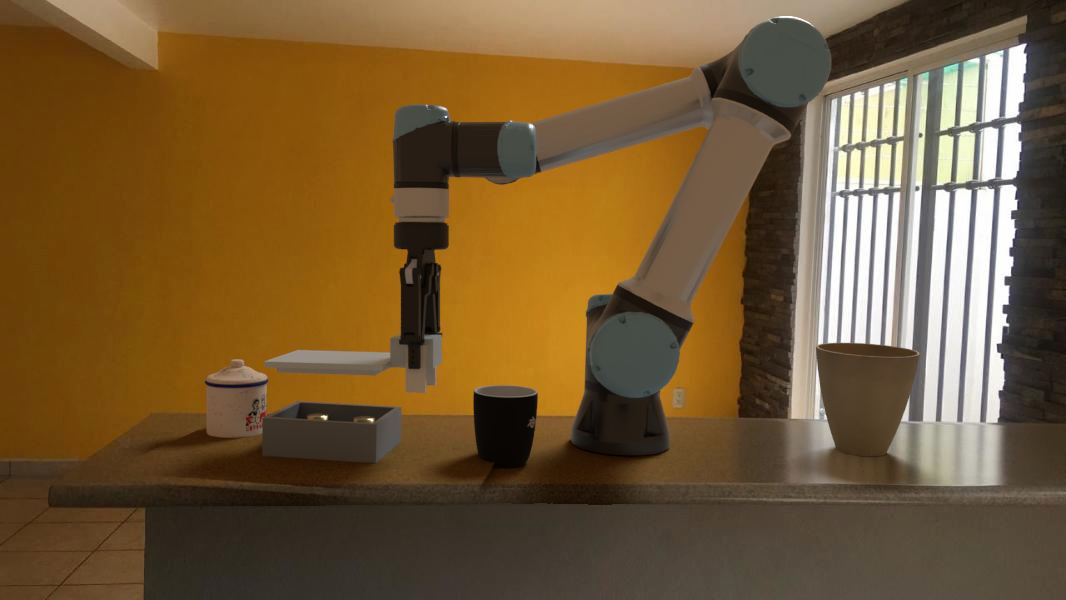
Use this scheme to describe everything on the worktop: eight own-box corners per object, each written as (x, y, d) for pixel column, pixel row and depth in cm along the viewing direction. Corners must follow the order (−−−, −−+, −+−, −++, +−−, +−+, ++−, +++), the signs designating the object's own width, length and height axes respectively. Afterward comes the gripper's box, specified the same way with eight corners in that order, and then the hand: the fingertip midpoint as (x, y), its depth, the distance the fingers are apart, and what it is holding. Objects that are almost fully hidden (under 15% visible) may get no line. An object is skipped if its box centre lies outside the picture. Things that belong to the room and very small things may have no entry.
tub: (400, 447, 128) (401, 407, 127) (375, 468, 116) (376, 424, 116) (297, 440, 130) (297, 401, 129) (262, 461, 118) (262, 417, 118)
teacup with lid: (257, 444, 127) (257, 365, 126) (195, 442, 127) (195, 363, 126) (281, 425, 139) (281, 353, 138) (224, 424, 139) (224, 352, 138)
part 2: (377, 443, 126) (377, 416, 126) (370, 448, 123) (371, 421, 123) (357, 442, 127) (357, 415, 126) (350, 447, 124) (350, 419, 123)
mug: (535, 472, 117) (537, 398, 116) (468, 469, 117) (470, 395, 116) (536, 449, 129) (538, 382, 128) (476, 447, 129) (478, 380, 128)
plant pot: (795, 438, 141) (800, 341, 140) (882, 439, 142) (889, 343, 141) (835, 463, 126) (841, 355, 125) (932, 464, 127) (939, 356, 126)
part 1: (330, 440, 127) (331, 413, 127) (323, 445, 124) (323, 418, 124) (311, 439, 127) (311, 412, 127) (303, 444, 124) (303, 417, 124)
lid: (446, 365, 126) (446, 332, 125) (427, 378, 114) (427, 342, 114) (298, 360, 129) (297, 328, 128) (264, 373, 117) (263, 338, 117)
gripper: (412, 221, 128) (412, 376, 130) (374, 219, 110) (375, 399, 112) (461, 221, 127) (461, 378, 129) (432, 220, 109) (432, 401, 111)
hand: (421, 388), depth 121 cm, fingers closed on lid, 5 cm apart
